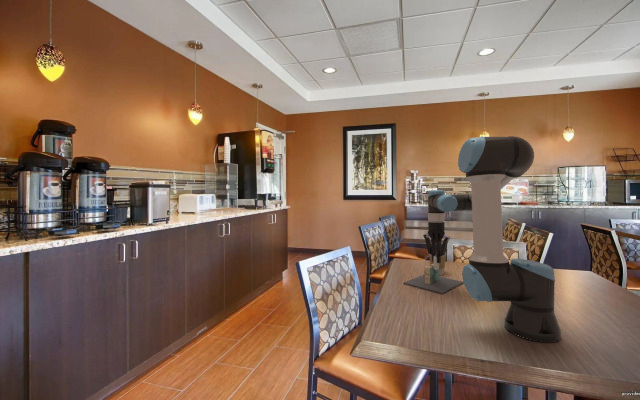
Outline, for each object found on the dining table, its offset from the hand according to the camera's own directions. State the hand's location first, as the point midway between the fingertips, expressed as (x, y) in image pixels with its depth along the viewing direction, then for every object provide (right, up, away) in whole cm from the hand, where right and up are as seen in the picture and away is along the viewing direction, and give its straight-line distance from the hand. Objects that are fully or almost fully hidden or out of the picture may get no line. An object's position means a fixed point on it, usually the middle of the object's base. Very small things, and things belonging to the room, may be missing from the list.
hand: (436, 269), depth 147 cm
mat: (-1, -8, +1) cm, 8 cm away
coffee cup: (+8, -7, +18) cm, 21 cm away
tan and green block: (-1, -7, +2) cm, 7 cm away
